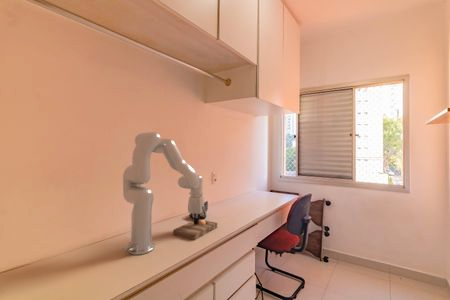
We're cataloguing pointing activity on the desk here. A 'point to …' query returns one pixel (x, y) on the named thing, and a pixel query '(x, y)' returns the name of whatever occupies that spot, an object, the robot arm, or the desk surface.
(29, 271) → the desk surface
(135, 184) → the robot arm
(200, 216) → the lucky cat figurine
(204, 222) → the ball
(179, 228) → the board
